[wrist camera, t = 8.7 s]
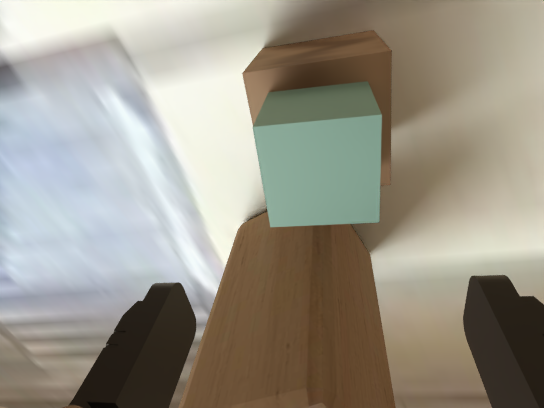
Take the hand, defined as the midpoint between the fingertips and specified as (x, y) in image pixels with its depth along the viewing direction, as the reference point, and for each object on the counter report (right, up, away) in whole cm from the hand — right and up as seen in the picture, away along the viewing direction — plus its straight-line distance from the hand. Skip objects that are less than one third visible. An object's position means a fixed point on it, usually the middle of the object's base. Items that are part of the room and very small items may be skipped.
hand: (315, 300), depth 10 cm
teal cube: (+2, +7, +11) cm, 13 cm away
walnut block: (+3, +11, +18) cm, 21 cm away
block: (+2, -1, +26) cm, 26 cm away
